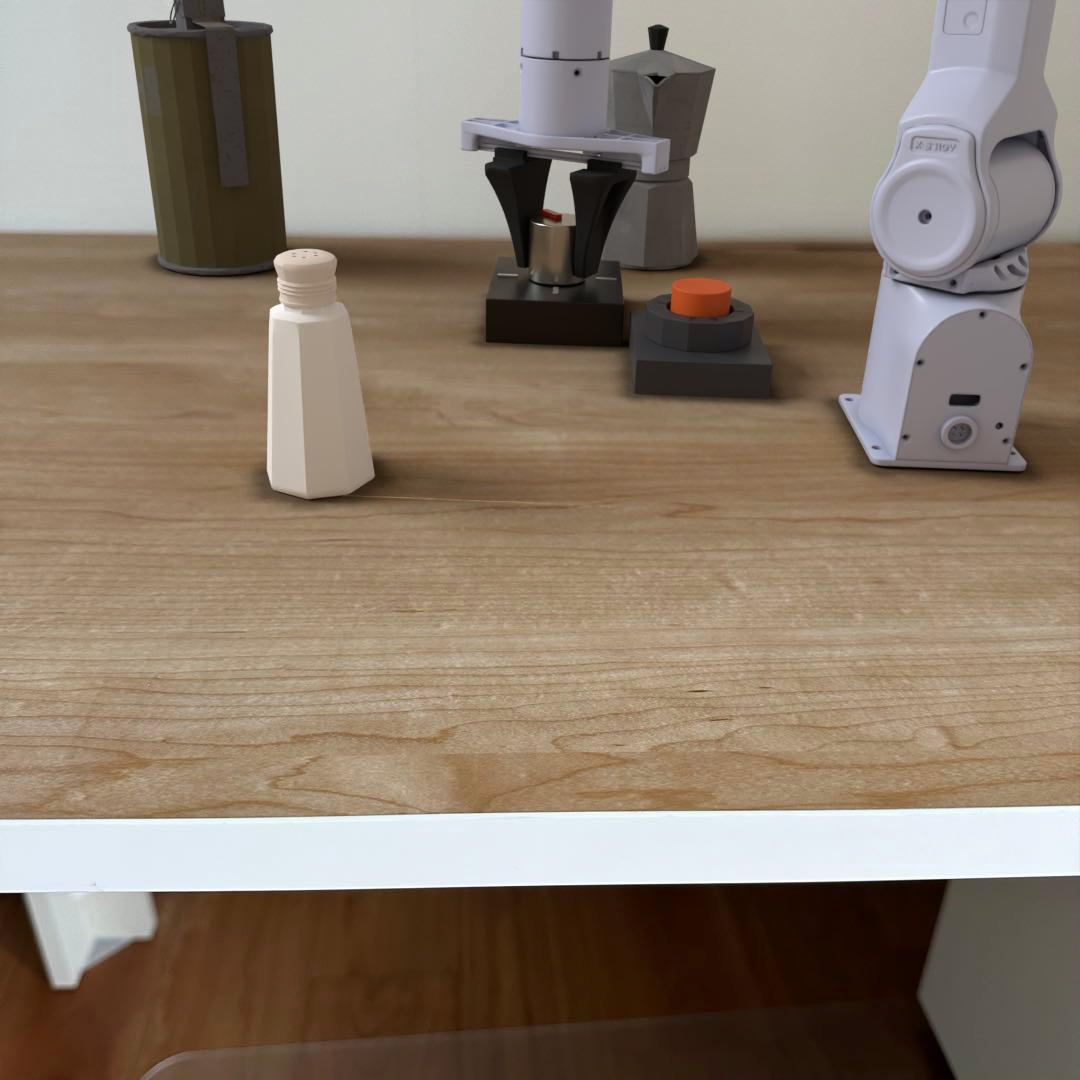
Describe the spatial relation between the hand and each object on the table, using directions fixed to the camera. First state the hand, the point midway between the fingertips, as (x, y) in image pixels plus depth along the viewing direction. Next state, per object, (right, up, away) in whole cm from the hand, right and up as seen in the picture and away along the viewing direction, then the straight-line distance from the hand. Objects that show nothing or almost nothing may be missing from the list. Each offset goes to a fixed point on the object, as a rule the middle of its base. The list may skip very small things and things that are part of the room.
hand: (557, 269), depth 78 cm
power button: (+9, -5, -8) cm, 13 cm away
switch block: (+9, -8, -6) cm, 13 cm away
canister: (-27, +4, +14) cm, 30 cm away
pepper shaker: (-12, -16, -22) cm, 29 cm away
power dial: (0, -1, 0) cm, 1 cm away
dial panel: (0, -3, +2) cm, 4 cm away
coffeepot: (+8, +6, +19) cm, 22 cm away
